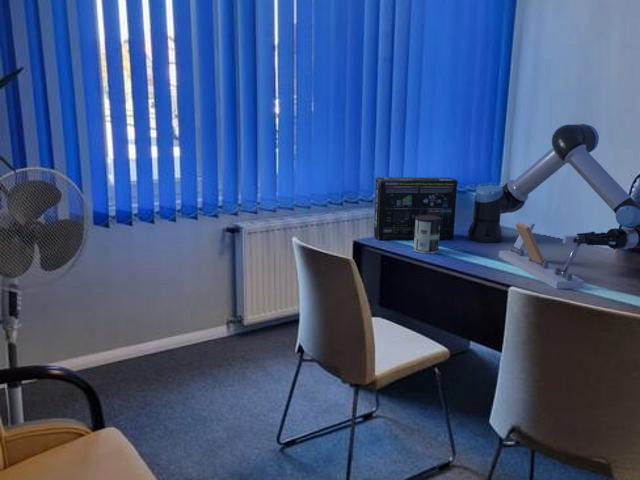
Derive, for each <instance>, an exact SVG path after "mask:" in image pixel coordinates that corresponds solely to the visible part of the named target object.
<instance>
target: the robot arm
mask: <svg viewBox="0 0 640 480" xmlns="http://www.w3.org/2000/svg"><path fill="white" fill-rule="evenodd" d="M599 136H600V135H599V133H598V130H597V129H596V128H595V127H594V126H592V125H590V124H586V123H580V124H579V123H578V124H564V125H562V126H560V127H558V128H557V129H556V130H555V131H554V133H553V134H552V137H551V146H552V147H551V149H549V150H548V151H547V152H546V153H545V154H544V155H543V156H542V157H540V158H539V159H538V160H537V161H535V163H534V164H532V165H531V166H530V167H528V169H526V170H525V171H524V172H523V173H522V174H521V175H520V176H518V177H517V178H516V179H510V180H508V181H507V182H506V183H505V184H504V185H503V186H499V185H483V186H479V187H478V188H477V189H476V190H475V193H474V202H473V204H474V205H473V215H472V222H471V224H470V226H469V228H468V231H467V239H469V240H471V241H475V242H479V243H499V242H502V241H503V232H502V227H501V215H502V214H507V213H510V214H511V213H514V212H517V211H519V210H521V209H522V208H523V207H524V206H525V204H526V201H528V199H529V195H530V194H531V193H532V192H533V191H535V190H536V189H537V188H538V187H539V186H540V185H542V184H543V183H544V182H545V181H547V180H548V179H549V178H551V177H552V176H553V175H554V174H556V172H558V171H559V170H560V169H561V168H563V167H564V166H565V165H566V164H569V165H570V166H571V168H573V169H574V170H575V171H576V173H578V175H580V177H581V178H582V179H583V180H584V181H585V183H587V184H588V185H589V186H590V188H591V189H592V190H593V191H594V192H595V193H596V194H597V196H599V197H600V198H601V200H602V201H603V202H604V203H605V204H606V205H607V206H608V207H609V208H610V209H611V211H613V213H614V214H615V220H616V222H617V224H618V225H620V226H621V227H622V228H620V227H619V228H617V227H616V228H610V229H608V230H607V232H600V233H599V232H598V233H597V232H596V231H590V232H581V233H579V232H578V233H576V234H575V235H572V234H571V235H563V238H562V244H566V245H573V244H574V245H575V244H576V237H577V236H579V235H582V236H584V237H585V242H584V243H583V244H582V245H587V246H603V247H604V246H606V247H607V246H608V248H609V249H612V250H614V249H624V250H628V249H640V197H639V198H638V201H637V202H636V201H635V200H634V199H633V198H632V197H631V196H630V195H629V193H628V192H627V191H626V190H625V189H624V188H623V187H622V186H621V184H619V183H618V182H617V181H616V180H615V179H614V178H613V177H612V176H611V174H610V173H608V171H607V170H606V169H605V168H604V167H603V166H602V165H601V164H600V163H599V161H597V160H596V159H595V158H594V157H593V155H592V154H591V152H593V151H594V150H596V149H597V147H598V144H599V141H600V137H599Z"/></svg>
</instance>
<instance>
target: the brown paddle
mask: <svg viewBox="0 0 640 480" xmlns="http://www.w3.org/2000/svg"><path fill="white" fill-rule="evenodd" d="M524 224H525V223H524ZM524 224H523V223H520V222H516V223H515V224H514V225H515V226H516V229H517V232H518V234H520V236H521V238H522V240H523V242H524V244H525V246H524V248H526V252H527V253H529V255H530V257H531V258H530V259H531V260H532V261H534V262H535V263H537V264H539V265H541V266H543V262H546V261H545V259H544V256H543V254H542V252H541V250H540V248H539V246H538V244H537V241H536V240H535V237H534V235H533V231H532V232H531V230H530V228H529V227H528V226H526V225H524Z"/></svg>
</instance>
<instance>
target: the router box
mask: <svg viewBox="0 0 640 480" xmlns="http://www.w3.org/2000/svg"><path fill="white" fill-rule="evenodd" d="M458 183H459V180H458V179H456V178H452V177H431V176H430V177H426V176H425V177H418V176H417V177H416V176H415V177H413V176H412V177H409V176H408V177H405V176H404V177H403V176H400V177H398V176H395V177H391V176H390V177H388V176H387V177H385V176H383V177H382V176H381V177H375V188H374V189H375V191H374V195H375V196H374V217H373V220H374V221H373V237H374V239H376V240H378V241H412V240H413V241H414V237H415V221H416V218H415V216H417V215H435V216H439V217H441V222H440V235H439V241H440V240H442V241H443V240H447V241H448V240H450V241H451V240H454V234H455V221H456V220H455V218H456V206H457V192H458V191H457V190H458Z"/></svg>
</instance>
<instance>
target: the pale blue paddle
mask: <svg viewBox="0 0 640 480" xmlns="http://www.w3.org/2000/svg"><path fill="white" fill-rule="evenodd" d="M524 225H526V226H528V227H529V228H530V230H531V232H532V233H533V230H534V228H535V226H536V224H535V223H532V222H530V221H527V220H526V221H525V222H524ZM518 234H519V233H518ZM524 248H525V244H524V242H523V240H522V238H521V236H520V234H519V235H518V237H517V238H516V241H515V243H514V247H512V251H514V252H516V253H518V254H519V250H524Z"/></svg>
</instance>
